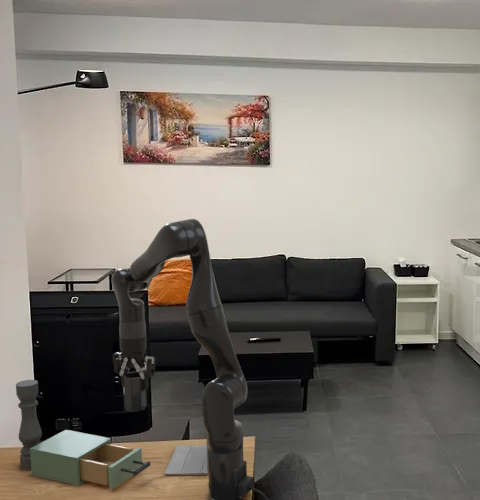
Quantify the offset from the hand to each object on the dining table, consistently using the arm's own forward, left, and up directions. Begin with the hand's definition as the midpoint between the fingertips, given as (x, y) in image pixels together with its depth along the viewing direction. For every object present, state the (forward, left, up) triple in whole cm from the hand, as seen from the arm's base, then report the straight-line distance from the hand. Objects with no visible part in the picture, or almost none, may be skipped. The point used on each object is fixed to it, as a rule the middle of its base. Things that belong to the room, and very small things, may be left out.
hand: (134, 388), depth 195 cm
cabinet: (+11, +15, -21) cm, 28 cm away
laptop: (-18, -2, -21) cm, 28 cm away
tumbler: (0, 0, -6) cm, 6 cm away
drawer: (-3, +15, -20) cm, 25 cm away
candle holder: (+24, +17, -21) cm, 36 cm away
